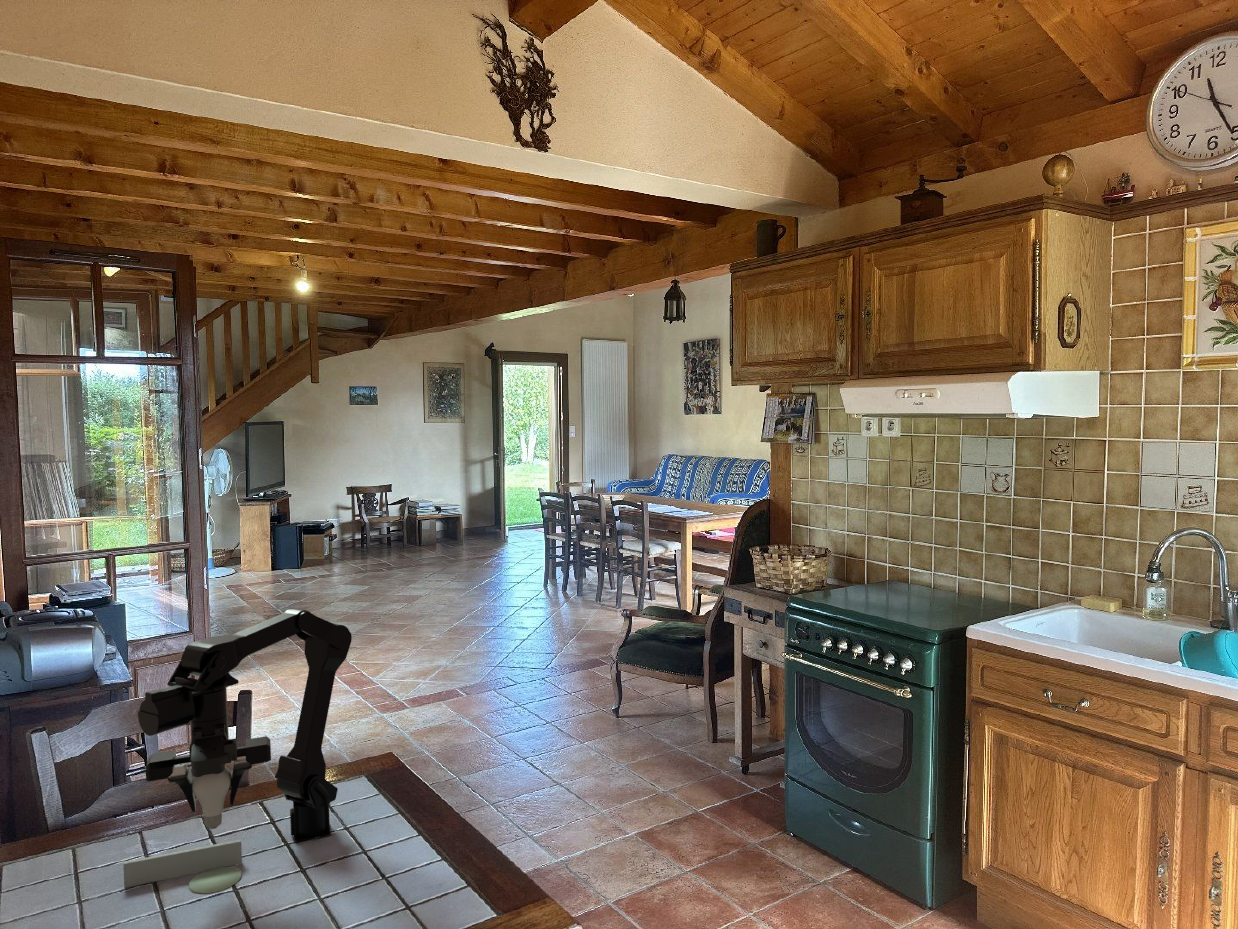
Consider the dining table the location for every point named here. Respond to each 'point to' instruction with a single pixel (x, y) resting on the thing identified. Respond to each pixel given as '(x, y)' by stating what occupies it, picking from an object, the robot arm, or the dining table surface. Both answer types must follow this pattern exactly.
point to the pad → (215, 880)
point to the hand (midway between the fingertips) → (213, 807)
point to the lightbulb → (212, 795)
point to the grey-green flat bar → (182, 863)
